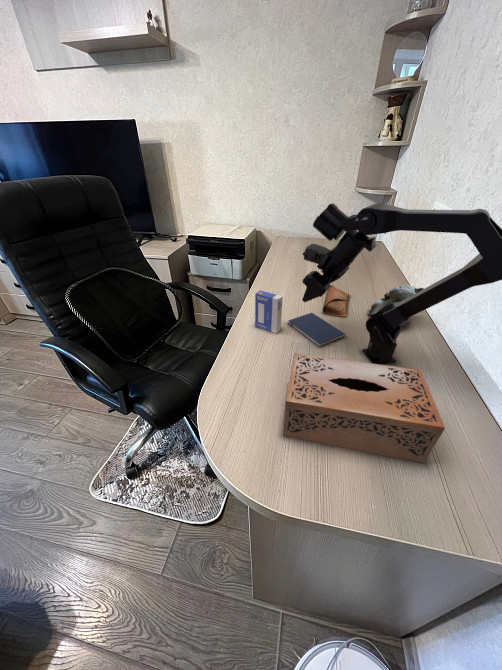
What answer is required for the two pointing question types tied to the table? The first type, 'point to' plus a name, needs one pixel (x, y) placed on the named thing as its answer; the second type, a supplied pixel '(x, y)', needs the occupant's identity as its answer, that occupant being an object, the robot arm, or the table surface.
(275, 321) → the walkman
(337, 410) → the tissue box cover
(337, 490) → the table surface
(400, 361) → the table surface
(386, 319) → the robot arm
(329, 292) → the sunglasses case
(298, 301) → the table surface
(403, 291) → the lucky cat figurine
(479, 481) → the table surface
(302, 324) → the notebook
